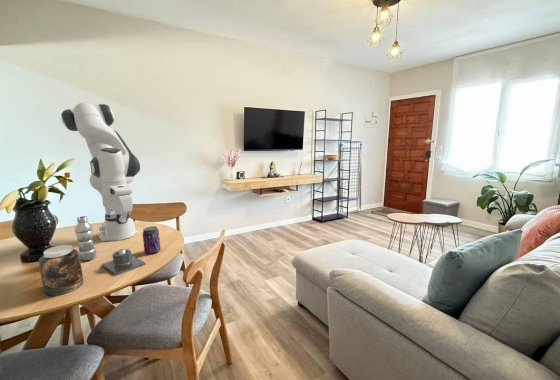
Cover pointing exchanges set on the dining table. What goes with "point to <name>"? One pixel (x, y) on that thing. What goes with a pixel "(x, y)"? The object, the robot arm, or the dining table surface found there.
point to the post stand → (123, 265)
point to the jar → (60, 270)
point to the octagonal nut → (122, 257)
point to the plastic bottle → (85, 239)
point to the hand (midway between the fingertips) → (118, 220)
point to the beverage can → (151, 240)
